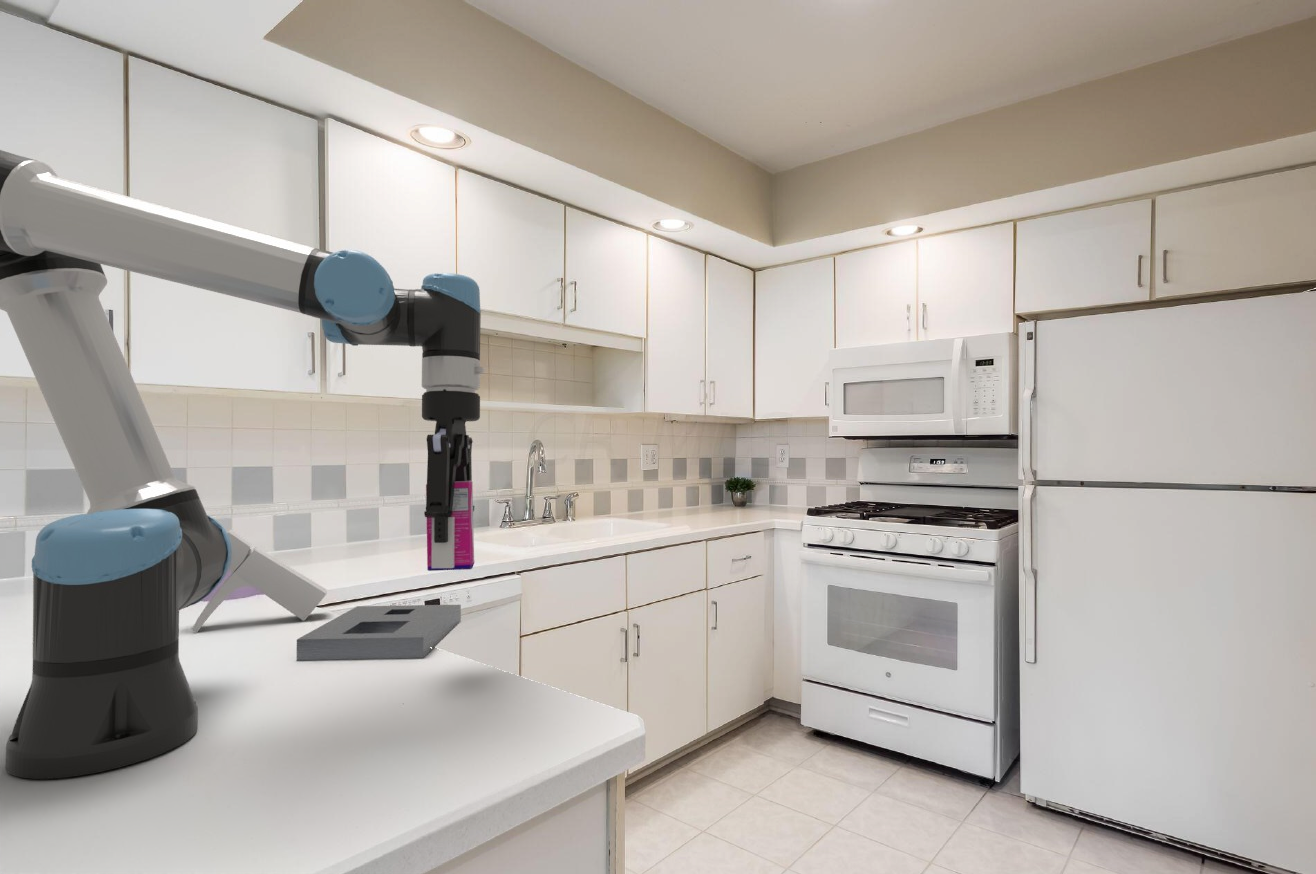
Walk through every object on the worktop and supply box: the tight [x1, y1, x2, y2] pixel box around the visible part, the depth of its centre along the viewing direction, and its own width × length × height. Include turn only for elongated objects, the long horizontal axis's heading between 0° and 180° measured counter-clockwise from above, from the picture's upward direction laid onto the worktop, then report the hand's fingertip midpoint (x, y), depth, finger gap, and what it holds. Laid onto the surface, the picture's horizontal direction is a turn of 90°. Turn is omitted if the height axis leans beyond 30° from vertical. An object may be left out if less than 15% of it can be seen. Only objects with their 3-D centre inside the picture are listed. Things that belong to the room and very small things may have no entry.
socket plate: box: [296, 604, 462, 662], centre depth 111 cm, size 22×18×3 cm
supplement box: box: [425, 481, 475, 572], centre depth 93 cm, size 6×6×12 cm
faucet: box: [192, 529, 328, 634], centre depth 121 cm, size 6×16×20 cm
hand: (450, 563), depth 92 cm, fingers closed on supplement box, 6 cm apart
